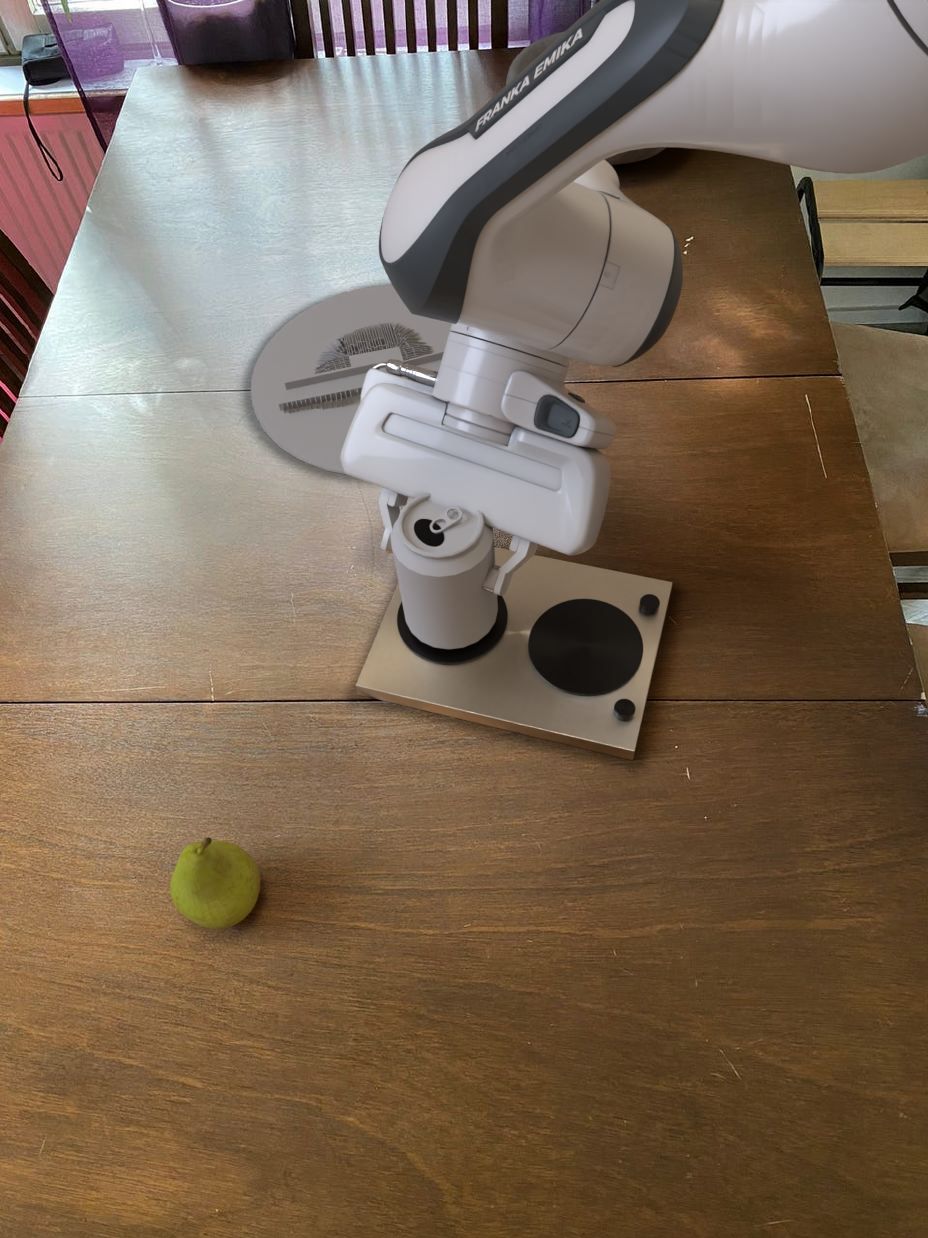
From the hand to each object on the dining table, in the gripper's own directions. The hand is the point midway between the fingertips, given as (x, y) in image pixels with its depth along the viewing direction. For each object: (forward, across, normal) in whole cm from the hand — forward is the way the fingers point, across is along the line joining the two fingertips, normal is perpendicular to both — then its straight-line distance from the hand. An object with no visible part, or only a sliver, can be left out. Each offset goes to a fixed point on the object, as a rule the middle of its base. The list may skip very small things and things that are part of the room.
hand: (442, 572), depth 73 cm
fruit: (+25, -3, -13) cm, 28 cm away
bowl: (-44, -17, +57) cm, 74 cm away
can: (+4, 0, +5) cm, 7 cm away
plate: (-12, -21, +24) cm, 34 cm away
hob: (+5, +5, +7) cm, 10 cm away
